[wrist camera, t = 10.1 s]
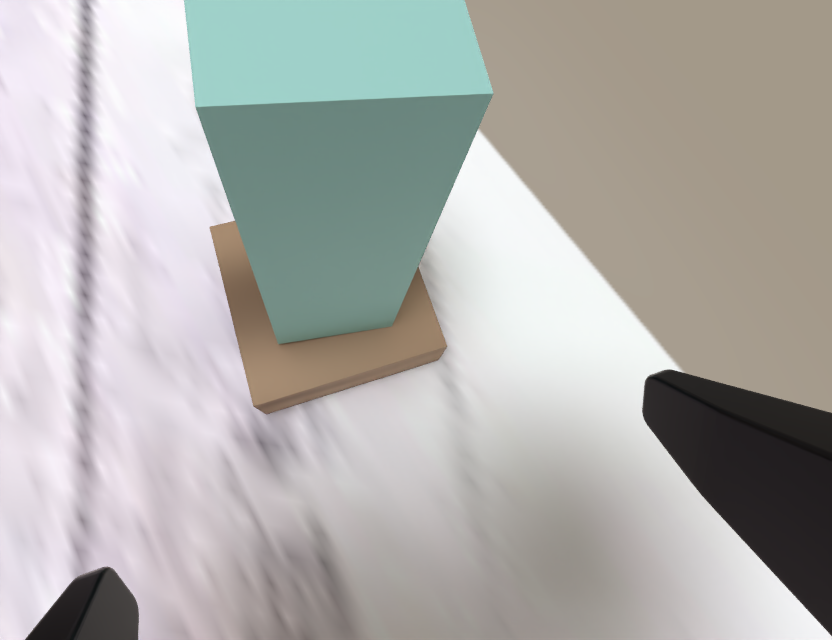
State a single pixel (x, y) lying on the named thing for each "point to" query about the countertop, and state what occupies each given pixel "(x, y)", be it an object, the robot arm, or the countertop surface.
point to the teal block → (336, 144)
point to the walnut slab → (318, 339)
